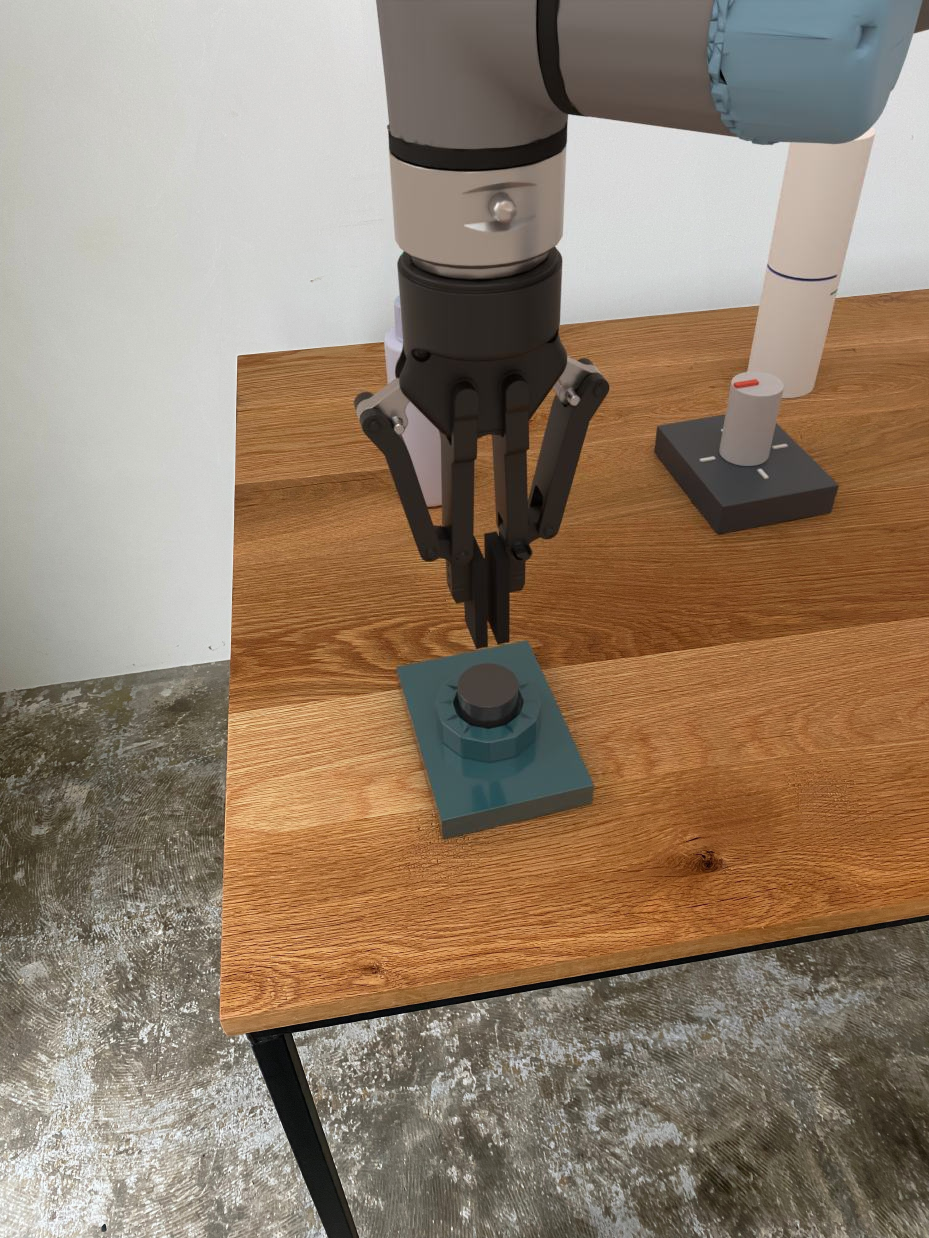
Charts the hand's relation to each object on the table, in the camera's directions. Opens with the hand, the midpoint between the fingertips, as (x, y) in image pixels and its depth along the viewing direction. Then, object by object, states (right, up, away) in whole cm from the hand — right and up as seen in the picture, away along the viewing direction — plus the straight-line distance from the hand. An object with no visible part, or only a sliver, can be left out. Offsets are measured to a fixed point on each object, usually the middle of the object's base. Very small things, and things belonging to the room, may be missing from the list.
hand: (486, 630), depth 58 cm
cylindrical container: (+33, +26, +43) cm, 60 cm away
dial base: (+24, +14, +30) cm, 41 cm away
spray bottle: (-5, +13, +30) cm, 33 cm away
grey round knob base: (0, -8, +7) cm, 10 cm away
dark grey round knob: (0, -5, +5) cm, 7 cm away
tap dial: (+24, +16, +28) cm, 40 cm away
